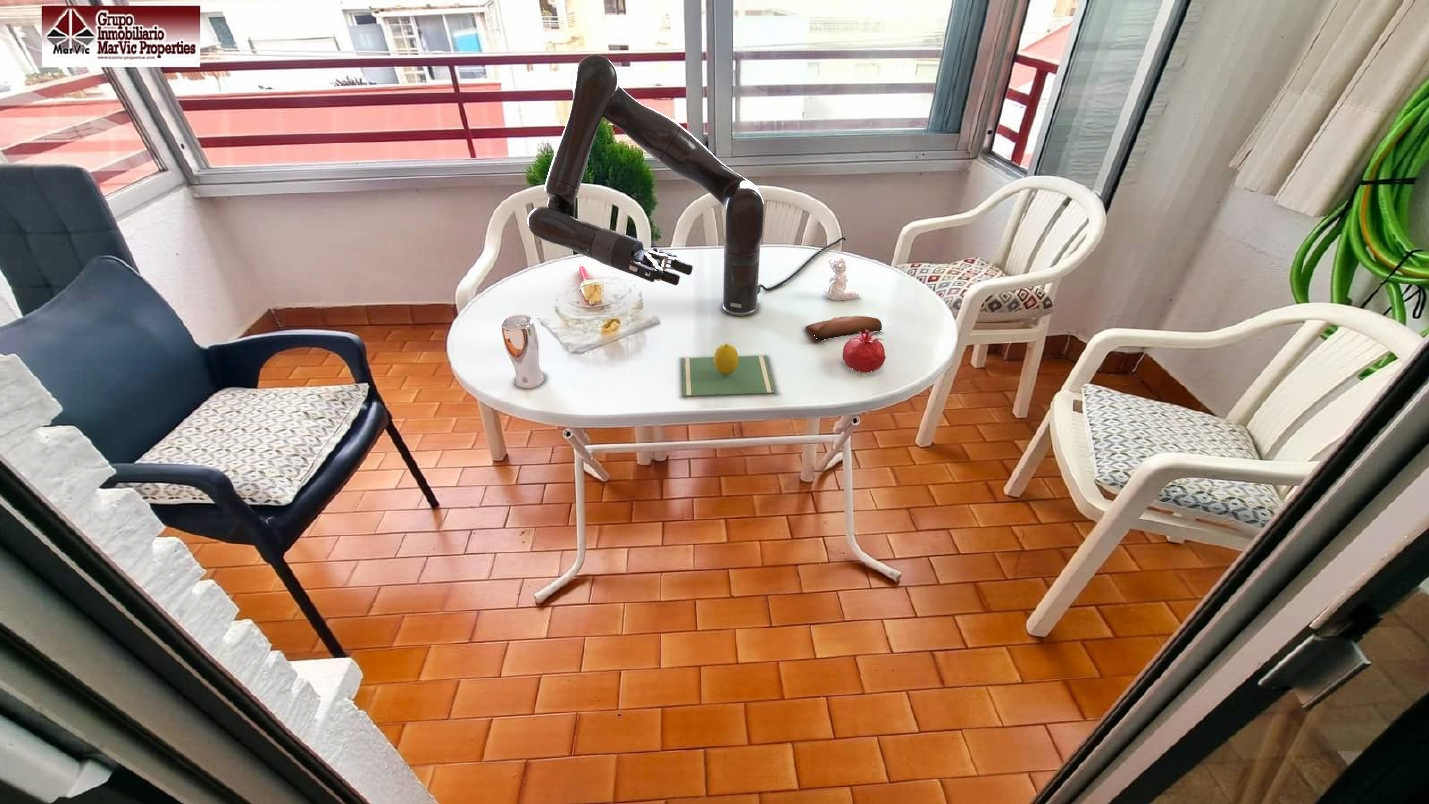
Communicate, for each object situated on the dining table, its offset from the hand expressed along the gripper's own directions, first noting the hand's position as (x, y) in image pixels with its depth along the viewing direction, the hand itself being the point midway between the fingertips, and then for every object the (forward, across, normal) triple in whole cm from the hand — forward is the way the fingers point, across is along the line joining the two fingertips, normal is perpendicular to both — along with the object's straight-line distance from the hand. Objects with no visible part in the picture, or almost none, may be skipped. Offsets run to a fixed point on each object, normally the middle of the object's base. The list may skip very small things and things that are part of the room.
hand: (685, 275), depth 124 cm
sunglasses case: (+37, +28, +10) cm, 47 cm away
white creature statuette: (+32, +47, +8) cm, 58 cm away
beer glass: (-25, -14, +31) cm, 42 cm away
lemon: (+15, 0, +19) cm, 24 cm away
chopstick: (-36, +32, +26) cm, 55 cm away
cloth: (+15, 0, +19) cm, 24 cm away
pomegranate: (+43, +13, +11) cm, 47 cm away
